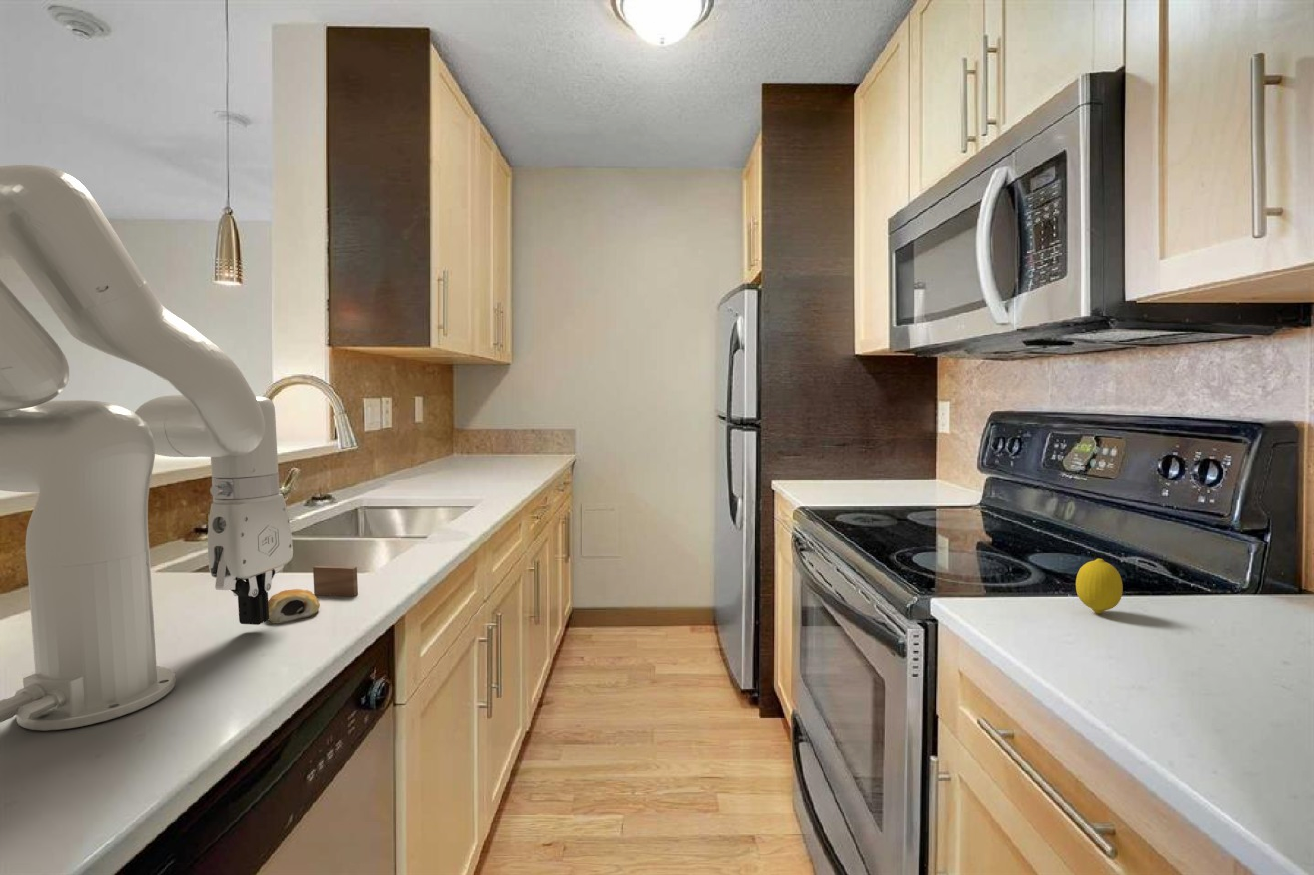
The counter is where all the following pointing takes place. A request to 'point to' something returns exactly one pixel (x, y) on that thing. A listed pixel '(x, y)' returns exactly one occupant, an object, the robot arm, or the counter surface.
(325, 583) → the walnut block
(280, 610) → the pastry
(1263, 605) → the counter surface
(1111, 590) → the lemon
